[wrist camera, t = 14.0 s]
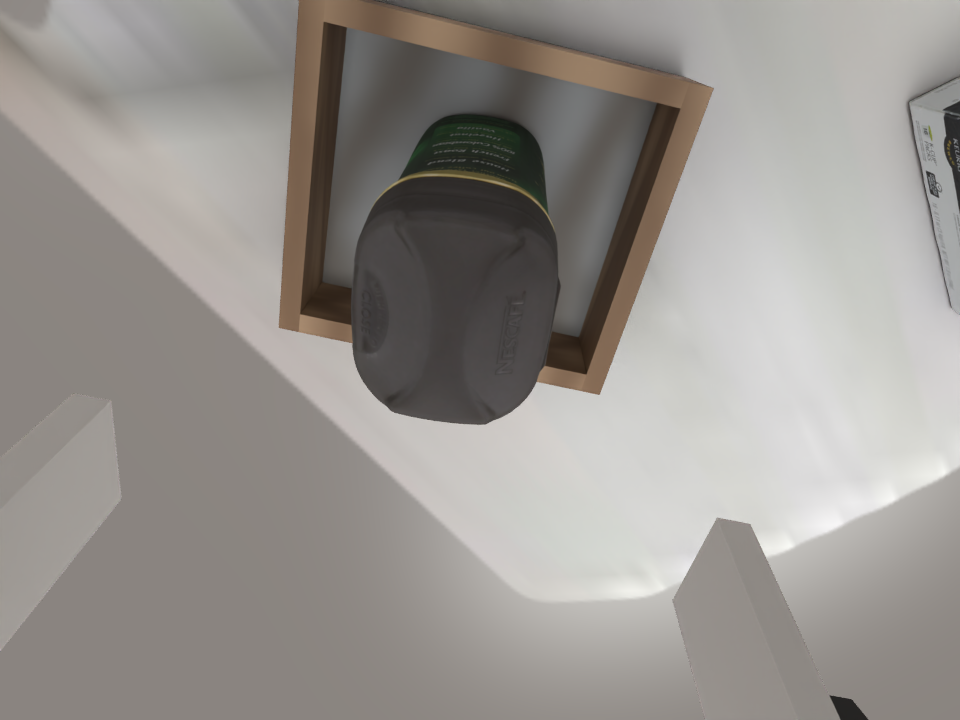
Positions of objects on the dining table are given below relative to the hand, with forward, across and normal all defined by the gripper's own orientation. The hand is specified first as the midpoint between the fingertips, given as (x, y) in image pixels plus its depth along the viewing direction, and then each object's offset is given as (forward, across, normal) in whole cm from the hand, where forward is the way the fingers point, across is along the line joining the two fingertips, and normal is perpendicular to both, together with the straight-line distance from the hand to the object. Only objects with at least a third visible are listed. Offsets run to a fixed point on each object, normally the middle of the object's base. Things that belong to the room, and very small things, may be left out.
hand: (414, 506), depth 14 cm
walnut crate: (+29, 0, 0) cm, 29 cm away
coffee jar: (+28, 0, 0) cm, 28 cm away
